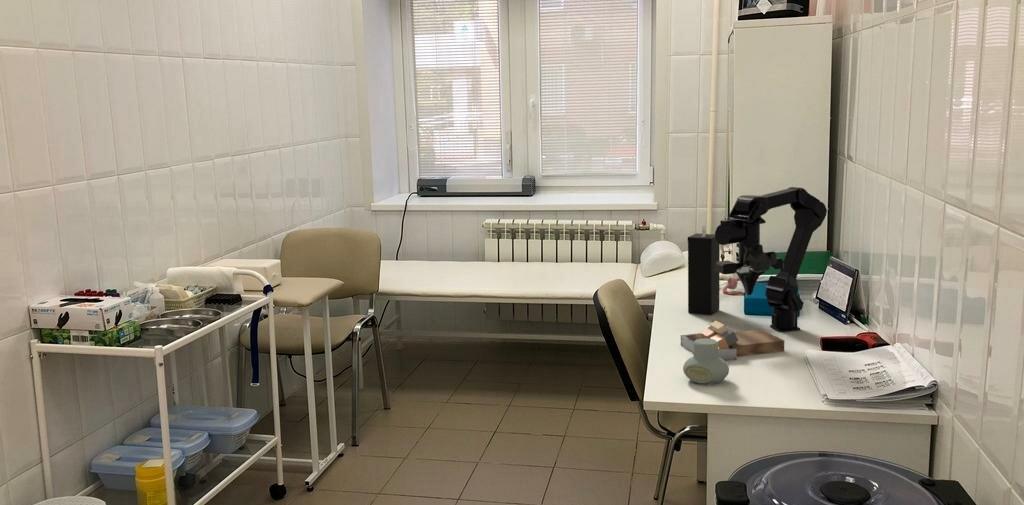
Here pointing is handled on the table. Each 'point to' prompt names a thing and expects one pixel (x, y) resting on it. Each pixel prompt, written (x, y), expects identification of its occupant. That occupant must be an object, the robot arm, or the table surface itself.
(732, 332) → the grey and beige block
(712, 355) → the air freshener
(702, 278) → the tall black pillar
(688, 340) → the tray
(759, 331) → the board
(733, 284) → the pink ball with cord
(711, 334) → the tile
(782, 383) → the table surface
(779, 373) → the table surface
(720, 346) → the tile
